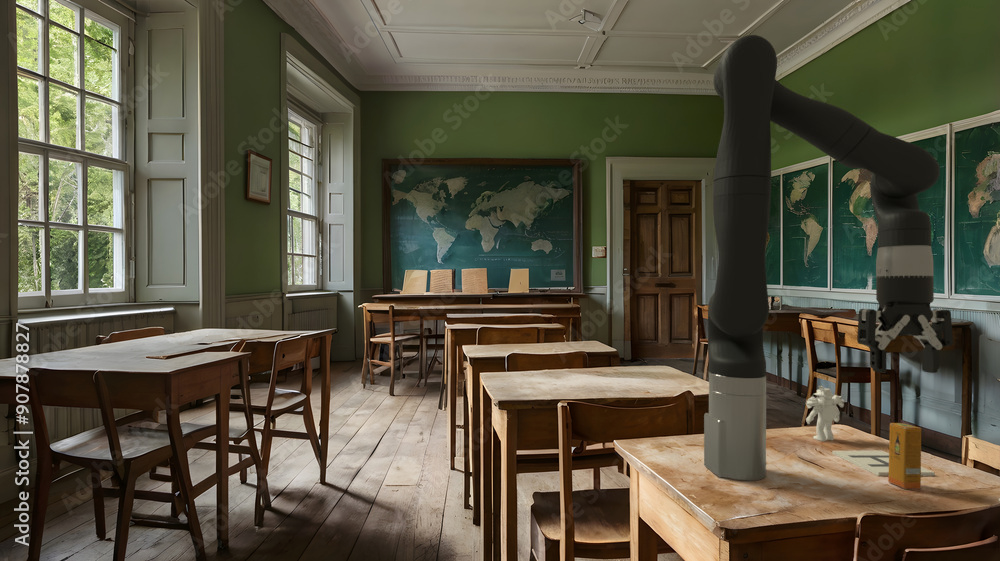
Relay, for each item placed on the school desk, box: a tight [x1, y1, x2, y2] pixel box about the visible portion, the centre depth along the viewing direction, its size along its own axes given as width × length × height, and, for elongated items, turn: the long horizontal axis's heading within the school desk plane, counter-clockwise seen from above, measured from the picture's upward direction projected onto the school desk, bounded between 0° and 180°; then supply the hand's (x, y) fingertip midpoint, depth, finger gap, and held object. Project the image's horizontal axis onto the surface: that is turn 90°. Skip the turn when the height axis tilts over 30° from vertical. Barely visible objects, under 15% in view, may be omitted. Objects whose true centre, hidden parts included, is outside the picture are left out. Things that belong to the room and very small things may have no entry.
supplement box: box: [887, 422, 922, 490], centre depth 86 cm, size 3×3×10 cm
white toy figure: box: [805, 385, 845, 442], centre depth 112 cm, size 9×4×12 cm, turn 106°
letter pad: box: [832, 450, 936, 477], centre depth 96 cm, size 10×12×1 cm
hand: (904, 372), depth 86 cm, fingers open, 8 cm apart
